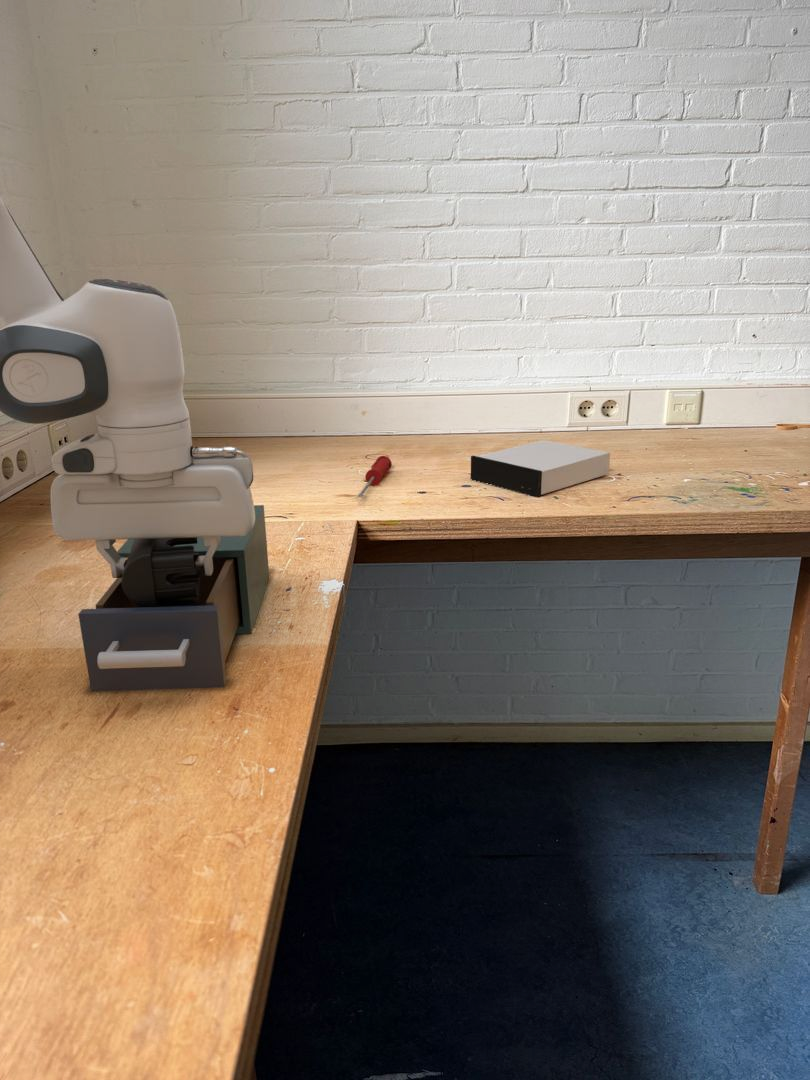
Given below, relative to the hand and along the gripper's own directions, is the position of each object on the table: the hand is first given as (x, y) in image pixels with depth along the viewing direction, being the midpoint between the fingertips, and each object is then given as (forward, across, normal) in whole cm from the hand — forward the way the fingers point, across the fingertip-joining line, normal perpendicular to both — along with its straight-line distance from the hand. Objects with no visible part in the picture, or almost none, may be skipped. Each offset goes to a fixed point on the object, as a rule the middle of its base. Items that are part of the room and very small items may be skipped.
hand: (163, 575), depth 85 cm
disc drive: (+11, -56, -76) cm, 95 cm away
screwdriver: (+11, -22, -72) cm, 76 cm away
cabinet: (+11, 0, -16) cm, 20 cm away
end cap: (+3, 0, 0) cm, 3 cm away
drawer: (+10, 0, +1) cm, 10 cm away
